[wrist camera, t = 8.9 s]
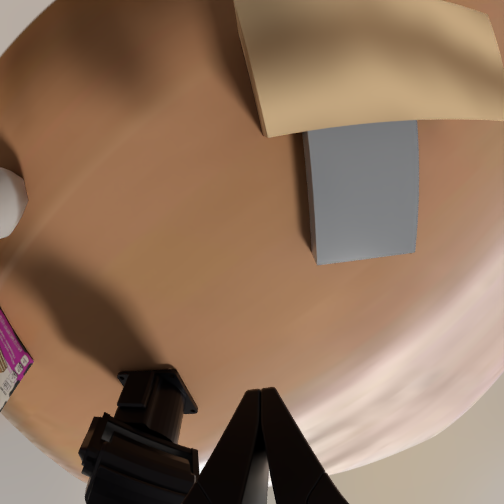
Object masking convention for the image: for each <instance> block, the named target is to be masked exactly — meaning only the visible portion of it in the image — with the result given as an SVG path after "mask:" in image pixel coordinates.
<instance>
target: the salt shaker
mask: <svg viewBox="0 0 504 504" xmlns="http://www.w3.org/2000/svg"><path fill="white" fill-rule="evenodd" d="M27 203H28V197H27V193H26V189H25V184H24V179H22V178H21V177H19V176H18V175H16V174H15V173H14V172H12V171H10V170H7V169H4V168H1V167H0V239H1V238H4V237H7V236H9V235H10V234H11V233H12V231H13V230H14V228H15V227H16V225H17V224H18V222H19V220H20V219H21V217H22V215H23V212H24V210H25V207H26V205H27Z"/></svg>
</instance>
